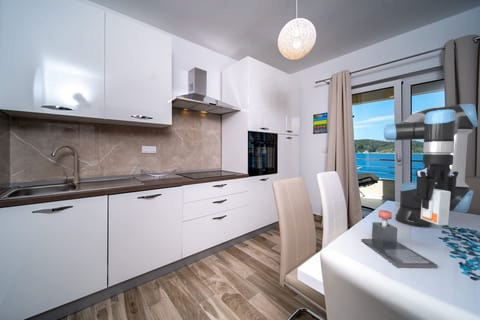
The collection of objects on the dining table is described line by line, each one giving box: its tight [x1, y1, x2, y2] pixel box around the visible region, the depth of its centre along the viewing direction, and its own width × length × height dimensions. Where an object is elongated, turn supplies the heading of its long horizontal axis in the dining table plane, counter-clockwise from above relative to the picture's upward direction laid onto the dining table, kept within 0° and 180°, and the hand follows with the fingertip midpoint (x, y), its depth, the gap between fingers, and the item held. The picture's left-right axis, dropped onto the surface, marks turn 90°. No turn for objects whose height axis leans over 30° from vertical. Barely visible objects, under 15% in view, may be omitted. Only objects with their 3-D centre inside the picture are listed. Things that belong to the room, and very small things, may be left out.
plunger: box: [378, 209, 393, 226], centre depth 79 cm, size 4×4×10 cm
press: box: [360, 221, 438, 269], centre depth 73 cm, size 14×19×9 cm
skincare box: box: [421, 189, 451, 226], centre depth 67 cm, size 6×4×12 cm
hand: (434, 217), depth 67 cm, fingers closed on skincare box, 4 cm apart
